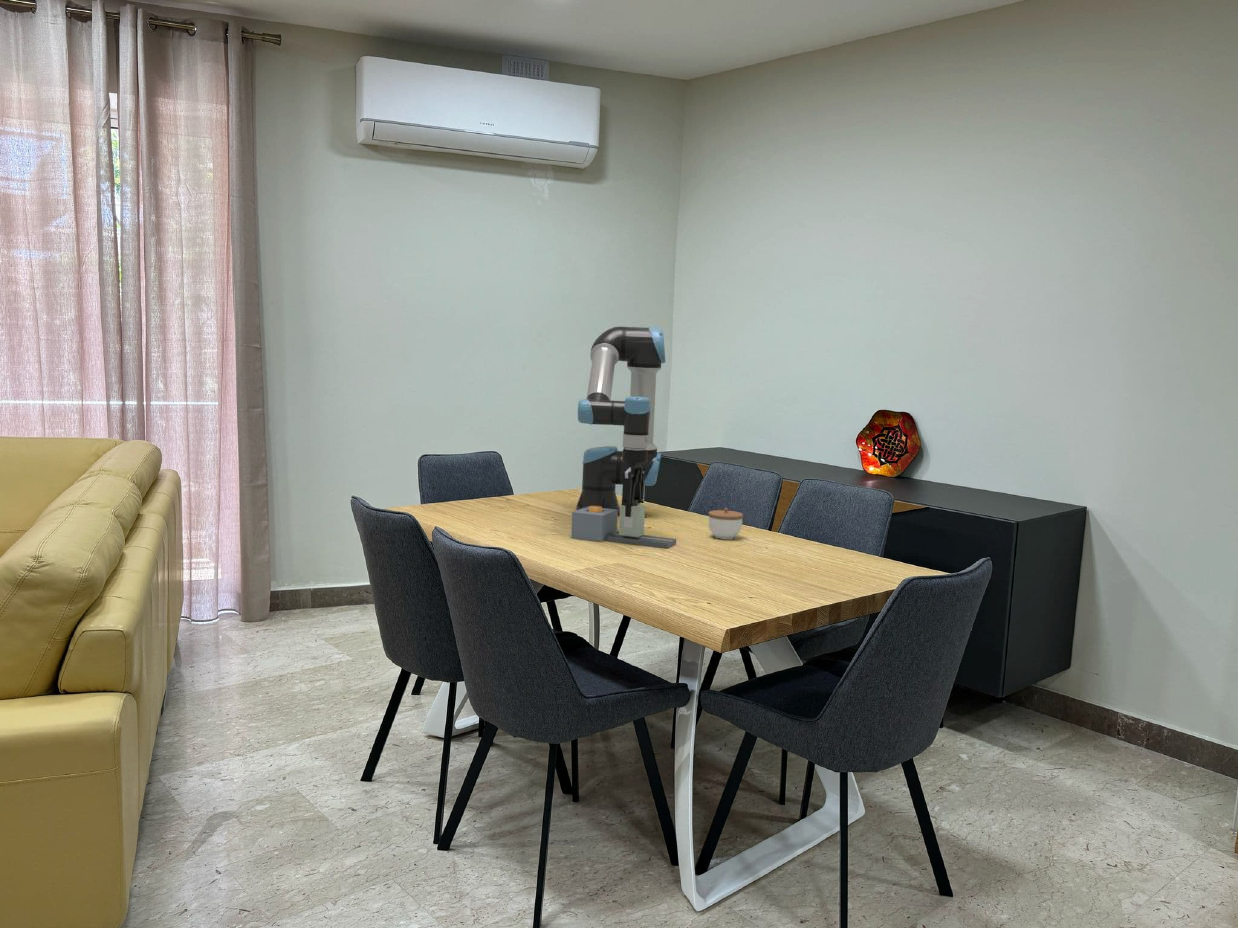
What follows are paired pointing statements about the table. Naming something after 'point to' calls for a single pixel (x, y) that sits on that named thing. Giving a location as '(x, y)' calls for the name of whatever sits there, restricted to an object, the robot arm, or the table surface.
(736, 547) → the table surface
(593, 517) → the grey block
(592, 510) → the button
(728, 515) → the lidded jar
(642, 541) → the rail board
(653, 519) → the table surface
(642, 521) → the carriage
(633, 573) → the table surface
